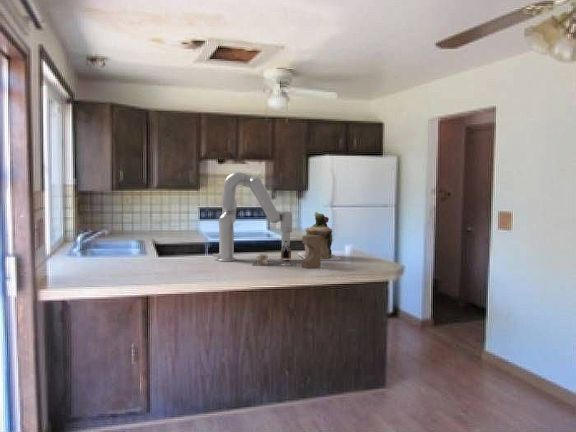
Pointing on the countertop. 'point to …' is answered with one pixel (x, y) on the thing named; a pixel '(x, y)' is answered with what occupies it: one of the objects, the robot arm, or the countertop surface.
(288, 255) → the walnut block
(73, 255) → the countertop surface
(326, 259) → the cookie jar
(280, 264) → the mat
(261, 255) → the maple block
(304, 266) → the decorative block
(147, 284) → the countertop surface
